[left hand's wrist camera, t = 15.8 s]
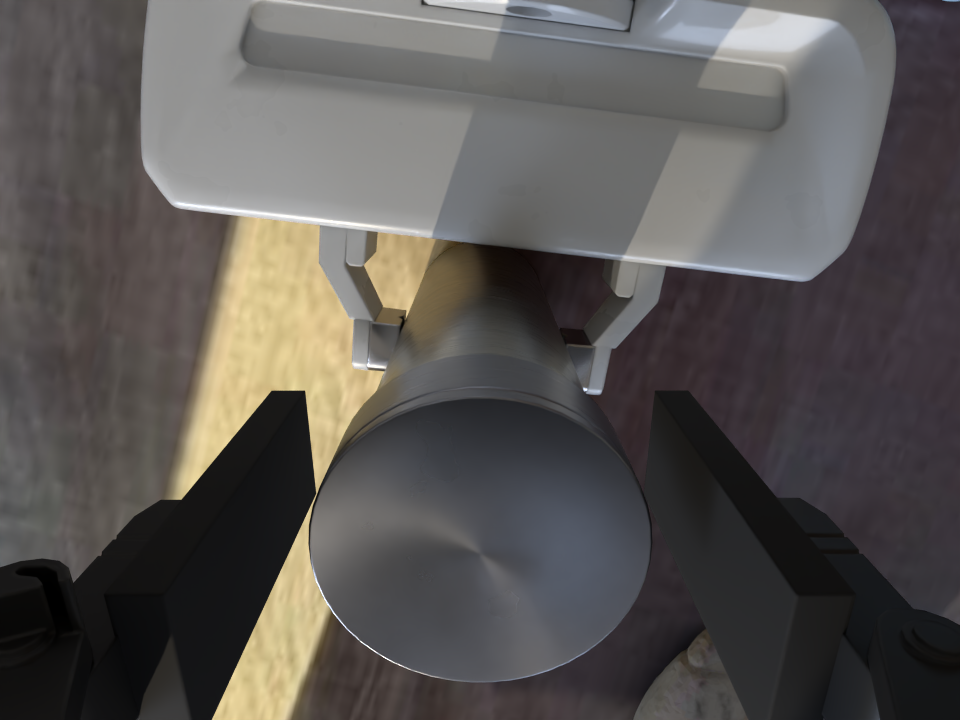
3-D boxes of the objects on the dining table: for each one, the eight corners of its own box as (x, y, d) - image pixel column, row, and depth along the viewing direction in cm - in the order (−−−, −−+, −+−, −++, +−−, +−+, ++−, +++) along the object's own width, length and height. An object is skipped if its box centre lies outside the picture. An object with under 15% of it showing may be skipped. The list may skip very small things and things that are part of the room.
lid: (683, 500, 12) (720, 566, 10) (468, 647, 14) (467, 730, 12) (494, 288, 11) (497, 320, 9) (274, 478, 12) (235, 541, 10)
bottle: (449, 378, 27) (409, 681, 12) (397, 270, 26) (275, 464, 10) (560, 333, 27) (667, 596, 11) (514, 219, 25) (568, 348, 10)
